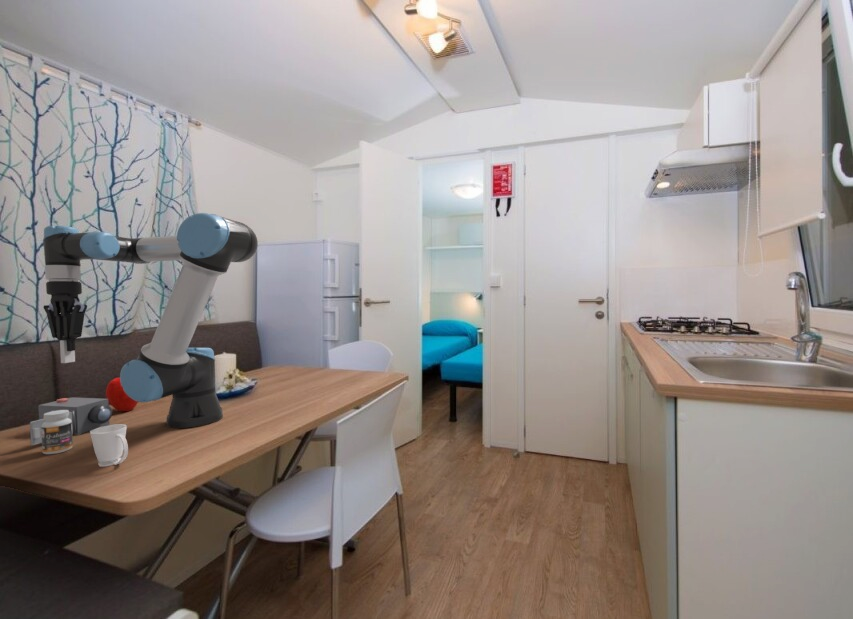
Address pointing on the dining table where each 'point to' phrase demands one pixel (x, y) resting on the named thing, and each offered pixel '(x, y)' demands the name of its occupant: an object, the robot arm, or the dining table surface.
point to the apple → (119, 396)
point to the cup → (110, 444)
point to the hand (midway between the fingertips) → (68, 362)
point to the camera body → (81, 412)
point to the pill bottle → (56, 432)
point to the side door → (36, 428)
